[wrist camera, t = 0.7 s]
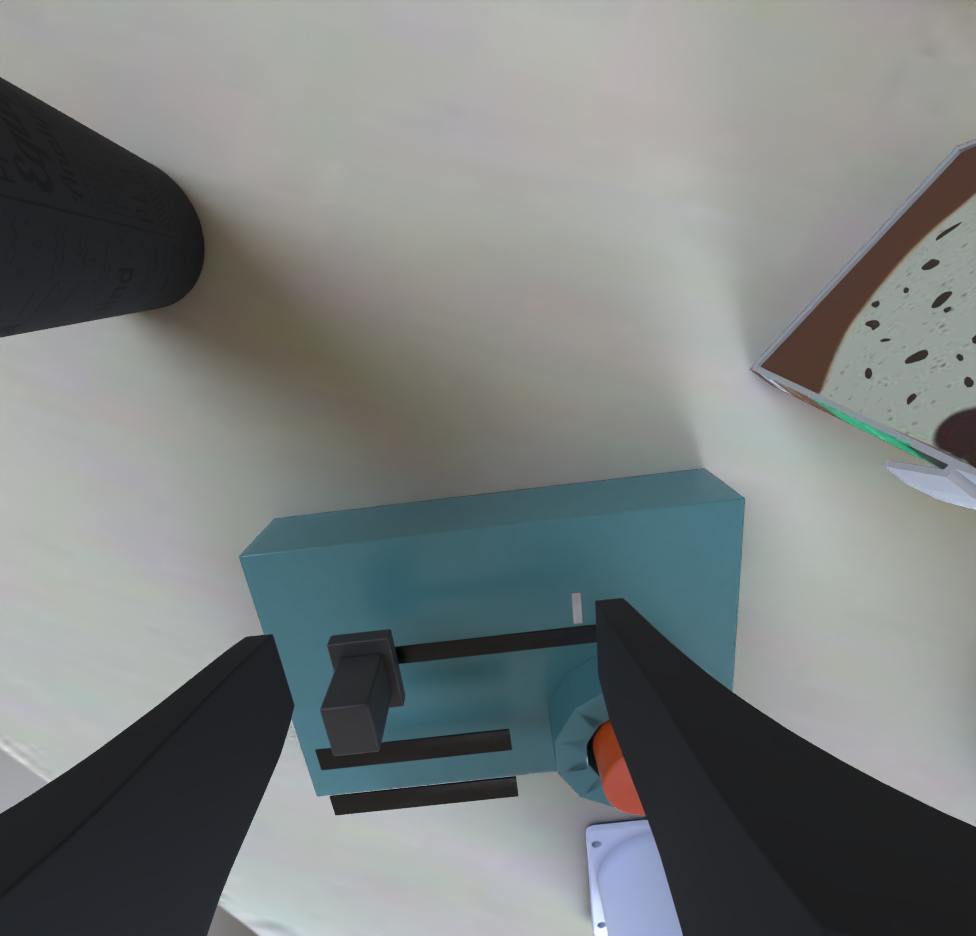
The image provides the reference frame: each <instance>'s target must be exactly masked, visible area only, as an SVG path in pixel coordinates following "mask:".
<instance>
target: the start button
mask: <svg viewBox="0 0 976 936" xmlns="http://www.w3.org/2000/svg"><path fill="white" fill-rule="evenodd" d="M593 752H594V756H595V760H596V764H597V768H598V771H599V775H600V779H601V783H602V787H603V791H604V794H605V796H606V798H607V799H608V801H609V802H610V803H611V804H612V805H613V806H614V807H616V808H617V809H619V810H621V811H623V812H626V813H629V814H633V815H645V812H644V810H643V807H642V805H641V802H640V799H639V797H638V794H637V791H636V789H635V786H634V784H633V781H632V778H631V776H630V773H629V770H628V768H627V765H626V762H625V760H624V757H623V755H622V752H621V749H620V747H619V744H618V741H617V739H616V736H615V733H614V731H613V728H612V725H611V722H610V720H608V721H606V722H604V723H603V724H602V725H601V726H600V727H599V729H598V730H597V732H596V734H595V736H594V740H593Z"/></svg>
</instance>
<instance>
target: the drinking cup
mask: <svg viewBox="0 0 976 936" xmlns="http://www.w3.org/2000/svg"><path fill="white" fill-rule="evenodd" d="M203 259H204V240H203V234H202V229H201V226H200V222H199V220H198V217H197V214H196V212H195V210H194V208H193V206H192V204H191V203H190V201H189V199H188V198H187V196H186V195H185V194H184V192H183V191H182V190H181V188H180V187H179V186H178V185H177V184H176V183H175V182H174V181H173V180H172V179H171V178H170V177H169V176H168V175H167V174H165V173H164V172H163V171H161V170H160V169H158V168H157V167H155V166H154V165H152V164H151V163H149V162H147V161H145V160H144V159H142V158H140V157H138V156H137V155H135V154H133V153H131V152H130V151H128V150H126V149H124V148H123V147H121V146H119V145H117V144H116V143H114V142H112V141H111V140H109V139H107V138H105V137H104V136H102V135H100V134H98V133H97V132H95V131H93V130H91V129H90V128H88V127H86V126H84V125H83V124H81V123H79V122H77V121H76V120H74V119H72V118H71V117H69V116H67V115H65V114H64V113H62V112H60V111H58V110H57V109H55V108H53V107H51V106H50V105H48V104H46V103H44V102H43V101H41V100H39V99H38V98H36V97H34V96H32V95H31V94H29V93H27V92H25V91H24V90H22V89H20V88H18V87H17V86H15V85H13V84H11V83H10V82H8V81H6V80H4V79H3V78H1V77H0V337H5V336H11V335H16V334H22V333H27V332H33V331H38V330H43V329H49V328H54V327H60V326H65V325H71V324H76V323H81V322H87V321H92V320H98V319H103V318H108V317H114V316H119V315H125V314H130V313H136V312H141V311H146V310H152V309H157V308H162V307H165V306H169V305H171V304H173V303H175V302H177V301H179V300H180V299H181V298H183V297H184V296H185V295H186V294H187V293H188V292H189V291H190V290H191V289H192V287H193V286H194V284H195V283H196V281H197V279H198V277H199V275H200V272H201V269H202V265H203Z"/></svg>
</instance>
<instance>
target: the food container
mask: <svg viewBox="0 0 976 936" xmlns="http://www.w3.org/2000/svg"><path fill="white" fill-rule="evenodd" d="M750 370H752V371H753V372H754V373H756V374H757V375H758V376H760V377H761V378H763V379H764V380H765V381H767V382H768V383H769V384H771V385H772V386H774V387H776V388H778V389H780V390H782V391H784V392H786V393H788V394H790V395H792V396H795V397H797V398H799V399H801V400H803V401H805V402H807V403H809V404H811V405H813V406H815V407H817V408H819V409H821V410H823V411H825V412H827V413H829V414H831V415H833V416H835V417H837V418H839V419H841V420H843V421H845V422H847V423H849V424H851V425H853V426H855V427H857V428H859V429H861V430H863V431H865V432H868V433H870V434H872V435H874V436H876V437H878V438H880V439H882V440H884V441H886V442H888V443H890V444H892V445H894V446H896V447H898V448H900V449H902V450H904V451H906V452H908V453H910V454H912V455H914V456H916V457H918V458H920V459H922V460H924V461H926V462H928V463H930V464H932V465H934V466H936V467H938V468H932V467H926V466H920V465H914V464H907V463H901V462H895V461H889V460H886V461H885V463H884V464H883V467H885V468H886V469H887V470H889V471H890V472H891V473H893V474H894V475H895V476H897V477H898V478H899V479H901V480H902V481H904V482H905V483H906V484H908V485H909V486H911V487H913V488H915V489H917V490H920V491H922V492H924V493H926V494H928V495H930V496H932V497H934V498H936V499H938V500H941V501H944V502H948V503H952V504H955V505H959V506H963V507H966V508H970V509H974V510H976V139H975V140H972V141H969V142H967V143H964V144H962V145H959V146H957V147H956V148H955V149H954V150H953V151H952V153H951V154H950V155H949V156H948V157H947V158H946V159H945V160H944V161H943V162H942V163H941V164H940V165H939V166H938V168H937V169H936V170H935V171H934V172H933V173H932V174H931V175H930V176H929V177H928V178H927V179H926V180H925V181H924V183H923V184H922V185H921V186H920V187H919V188H918V189H917V190H916V191H915V192H914V193H913V194H912V195H911V196H910V198H909V199H908V200H907V201H906V202H905V203H904V204H903V205H902V206H901V207H900V208H899V209H898V210H897V211H896V213H895V214H894V215H893V216H892V217H891V218H890V219H889V220H888V221H887V222H886V223H885V224H884V225H883V226H882V228H881V229H880V230H879V231H878V232H877V233H876V234H875V235H874V236H873V237H872V238H871V239H870V240H869V241H868V243H867V244H866V245H865V246H864V247H863V248H862V249H861V250H860V251H859V252H858V253H857V254H856V255H855V256H854V258H853V259H852V260H851V261H850V262H849V263H848V264H847V265H846V266H845V267H844V268H843V269H842V270H841V271H840V273H839V274H838V275H837V276H836V277H835V278H834V279H833V280H832V281H831V282H830V283H829V284H828V285H827V286H826V288H825V289H824V290H823V291H822V292H821V293H820V294H819V295H818V296H817V297H816V298H815V299H814V300H813V301H812V303H811V304H810V305H809V306H808V307H807V308H806V309H805V310H804V311H803V312H802V313H801V314H800V315H799V316H798V318H797V319H796V320H795V321H794V322H793V323H792V324H791V325H790V326H789V327H788V328H787V329H786V330H785V331H784V333H783V334H782V335H781V336H780V337H779V338H778V339H777V340H776V341H775V342H774V343H773V344H772V345H771V346H770V348H769V349H768V350H767V351H766V352H765V353H764V354H763V355H762V356H761V357H760V358H759V359H758V360H757V361H756V363H755V364H754V365H753V366H752V367H751V368H750ZM939 468H940V469H939Z"/></svg>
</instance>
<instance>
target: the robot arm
mask: <svg viewBox="0 0 976 936" xmlns="http://www.w3.org/2000/svg"><path fill="white" fill-rule="evenodd" d="M595 611H596V636H597V661H598V677H599V681H600V685H601V689H602V693H603V697H604V701H605V704H606V708H607V712H608V716H609V719H610V722H611V725H612V728H613V731H614V733H615V736H616V739H617V741H618V744H619V747H620V749H621V752H622V755H623V757H624V760H625V762H626V765H627V768H628V770H629V773H630V776H631V778H632V781H633V784H634V786H635V789H636V791H637V794H638V797H639V799H640V802H641V805H642V807H643V810H644V812H645V815H646V818H647V820H637V821H627V822H618V823H608V824H598V825H592V826H590V827H588V828H587V830H586V845H587V859H588V873H589V887H590V900H591V914H592V928H593V934H594V936H976V827H975V826H972V825H970V824H968V823H966V822H963V821H961V820H959V819H957V818H954V817H952V816H950V815H947V814H945V813H943V812H941V811H939V810H937V809H935V808H933V807H930V806H928V805H926V804H924V803H922V802H920V801H918V800H916V799H914V798H912V797H910V796H908V795H906V794H904V793H902V792H900V791H898V790H896V789H894V788H892V787H890V786H888V785H886V784H884V783H882V782H880V781H878V780H876V779H875V778H873V777H871V776H869V775H867V774H865V773H863V772H861V771H859V770H858V769H856V768H854V767H852V766H850V765H848V764H846V763H845V762H843V761H841V760H839V759H838V758H836V757H834V756H832V755H831V754H829V753H827V752H825V751H824V750H822V749H820V748H818V747H817V746H815V745H813V744H812V743H810V742H808V741H806V740H805V739H803V738H801V737H800V736H798V735H796V734H795V733H793V732H791V731H790V730H788V729H787V728H785V727H783V726H782V725H780V724H779V723H777V722H776V721H774V720H773V719H771V718H770V717H768V716H767V715H765V714H764V713H762V712H761V711H759V710H758V709H756V708H755V707H753V706H752V705H750V704H749V703H747V702H746V701H744V700H743V699H741V698H740V697H739V696H737V695H736V694H734V693H733V692H732V691H730V690H729V689H728V688H726V687H725V686H724V685H722V684H721V683H720V682H718V681H717V680H716V679H715V678H713V677H712V676H711V675H709V674H708V673H707V672H706V671H704V670H703V669H702V668H701V667H699V666H698V665H697V664H696V663H695V662H693V661H692V660H691V659H690V658H689V657H688V656H686V655H685V654H684V653H683V652H682V651H681V650H679V649H678V648H677V647H676V646H675V645H674V644H672V643H671V642H670V641H669V640H668V639H667V638H666V637H665V636H663V635H662V634H661V633H660V632H659V631H658V630H657V629H656V628H655V627H654V626H653V625H651V624H650V623H649V622H648V621H647V620H646V619H645V618H644V617H643V616H642V615H641V614H640V613H639V612H638V611H637V610H636V609H635V608H634V607H632V606H631V605H630V604H629V603H628V602H627V601H626V600H625V599H624V598H617V599H607V600H597V601H595ZM294 707H295V705H294V701H293V698H292V695H291V692H290V688H289V685H288V682H287V679H286V675H285V672H284V669H283V666H282V662H281V659H280V656H279V652H278V649H277V646H276V643H275V639H274V636H273V634H269V635H260V636H250V637H245V638H244V639H242V640H241V641H239V642H238V643H236V644H235V645H234V646H232V647H231V648H230V649H228V650H227V651H226V652H224V653H223V654H222V655H221V656H219V657H218V658H217V659H215V660H214V661H213V662H212V663H210V664H209V665H208V666H207V667H205V668H204V669H203V670H202V671H200V672H199V673H198V674H197V675H195V676H194V677H193V678H192V679H190V680H189V681H188V682H186V683H185V684H184V685H183V686H181V687H180V688H179V689H178V690H176V691H175V692H174V693H173V694H171V695H170V696H169V697H168V698H166V699H165V700H164V701H162V702H161V703H160V704H159V705H157V706H156V707H155V708H153V709H152V710H151V711H149V712H148V713H147V714H145V715H144V716H143V717H141V718H140V719H139V720H137V721H136V722H135V723H133V724H132V725H131V726H129V727H128V728H127V729H125V730H124V731H123V732H121V733H120V734H119V735H117V736H116V737H115V738H113V739H112V740H111V741H109V742H108V743H107V744H105V745H104V746H103V747H101V748H100V749H98V750H97V751H96V752H94V753H93V754H91V755H90V756H88V757H87V758H86V759H84V760H83V761H81V762H80V763H78V764H77V765H75V766H74V767H73V768H71V769H70V770H68V771H67V772H65V773H64V774H62V775H61V776H59V777H58V778H56V779H55V780H53V781H52V782H50V783H48V784H47V785H46V786H44V787H42V788H41V789H39V790H38V791H36V792H35V793H33V794H32V795H30V796H29V797H27V798H25V799H24V800H22V801H21V802H19V803H18V804H16V805H14V806H13V807H11V808H9V809H8V810H6V811H4V812H3V813H1V814H0V936H207V934H208V931H209V927H210V924H211V922H212V919H213V916H214V913H215V910H216V907H217V904H218V901H219V898H220V896H221V893H222V891H223V888H224V886H225V883H226V881H227V878H228V876H229V873H230V871H231V868H232V866H233V864H234V861H235V859H236V857H237V855H238V852H239V850H240V848H241V845H242V843H243V841H244V838H245V836H246V834H247V832H248V829H249V827H250V825H251V822H252V820H253V818H254V815H255V813H256V811H257V809H258V806H259V804H260V802H261V799H262V797H263V795H264V792H265V790H266V788H267V785H268V783H269V781H270V778H271V776H272V774H273V771H274V769H275V767H276V764H277V762H278V759H279V757H280V754H281V752H282V748H283V745H284V742H285V739H286V736H287V732H288V729H289V725H290V722H291V718H292V714H293V711H294Z"/></svg>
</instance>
